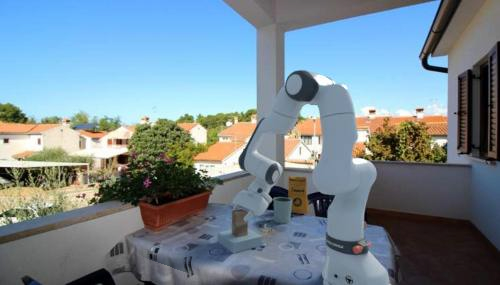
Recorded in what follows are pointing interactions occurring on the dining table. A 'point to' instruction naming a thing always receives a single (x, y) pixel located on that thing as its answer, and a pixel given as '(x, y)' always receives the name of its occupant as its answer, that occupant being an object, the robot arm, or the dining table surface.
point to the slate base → (239, 241)
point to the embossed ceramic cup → (282, 209)
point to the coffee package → (298, 194)
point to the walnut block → (239, 223)
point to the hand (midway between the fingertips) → (238, 217)
